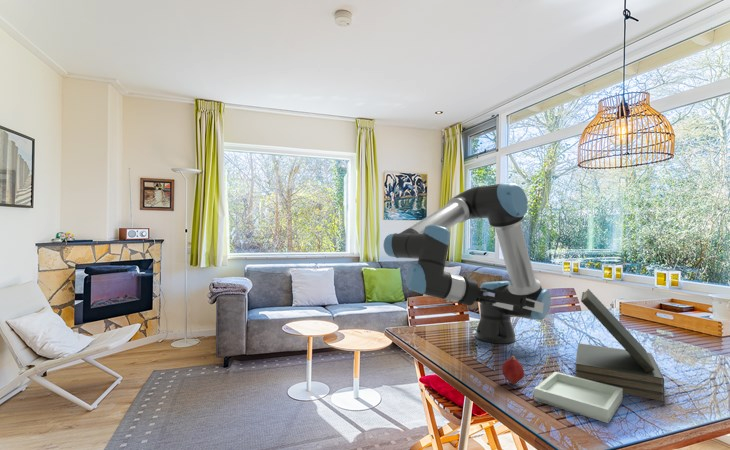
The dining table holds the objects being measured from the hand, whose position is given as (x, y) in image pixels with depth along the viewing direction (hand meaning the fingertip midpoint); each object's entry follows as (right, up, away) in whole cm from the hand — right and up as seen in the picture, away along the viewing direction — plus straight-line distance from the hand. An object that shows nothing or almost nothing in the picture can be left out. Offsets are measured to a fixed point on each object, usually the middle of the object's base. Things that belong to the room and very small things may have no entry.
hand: (526, 306), depth 104 cm
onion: (-5, -22, -3) cm, 22 cm away
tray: (+8, -21, -13) cm, 26 cm away
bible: (+27, -22, +2) cm, 35 cm away
